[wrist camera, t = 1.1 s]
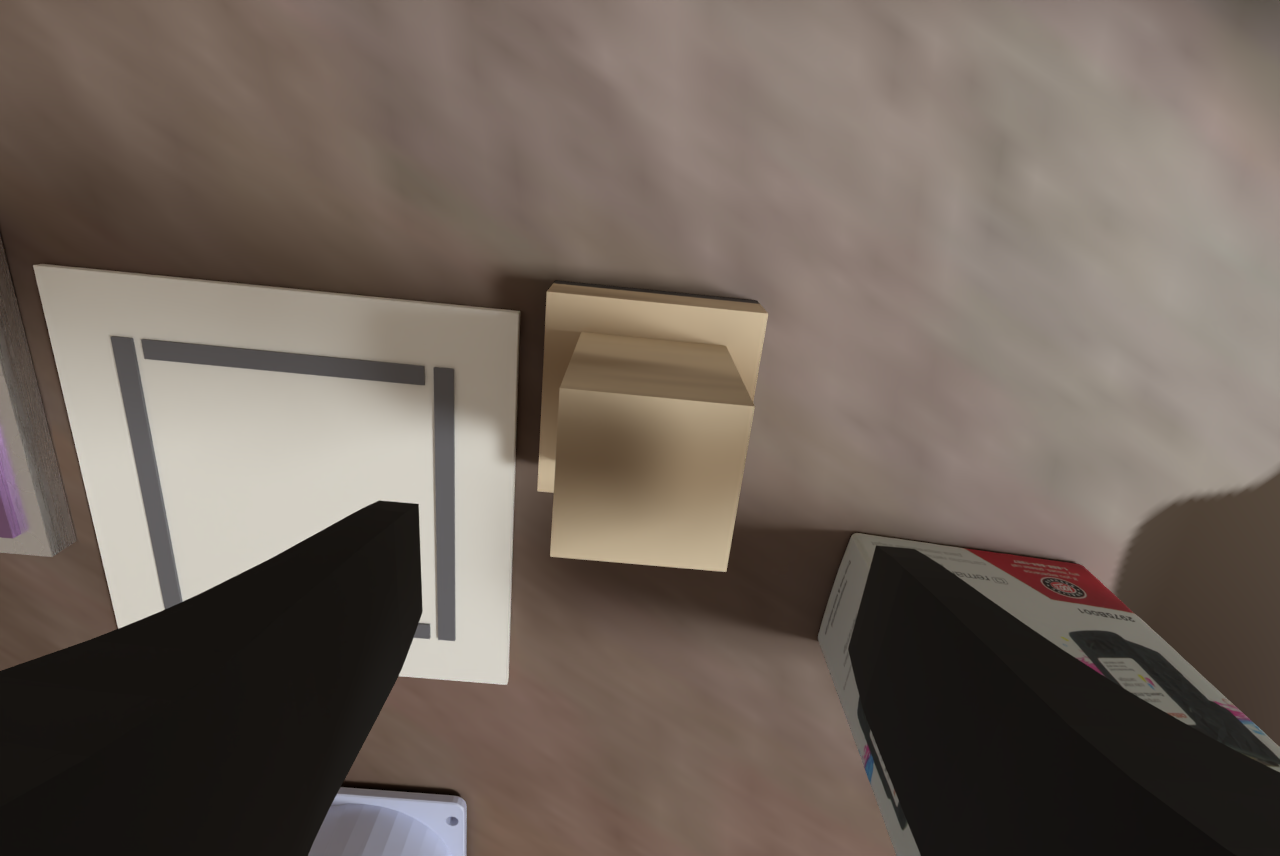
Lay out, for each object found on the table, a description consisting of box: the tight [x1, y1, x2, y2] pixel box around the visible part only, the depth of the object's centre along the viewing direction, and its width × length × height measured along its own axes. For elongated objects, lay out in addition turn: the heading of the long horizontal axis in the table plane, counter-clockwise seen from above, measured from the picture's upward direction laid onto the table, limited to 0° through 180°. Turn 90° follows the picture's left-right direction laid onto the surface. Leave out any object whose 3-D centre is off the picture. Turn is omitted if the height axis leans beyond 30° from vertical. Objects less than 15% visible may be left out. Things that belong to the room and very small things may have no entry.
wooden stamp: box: [537, 281, 768, 572], centre depth 17 cm, size 6×6×7 cm
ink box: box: [818, 533, 1280, 856], centre depth 18 cm, size 9×5×12 cm, turn 81°
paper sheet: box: [33, 264, 520, 685], centre depth 22 cm, size 14×14×1 cm
